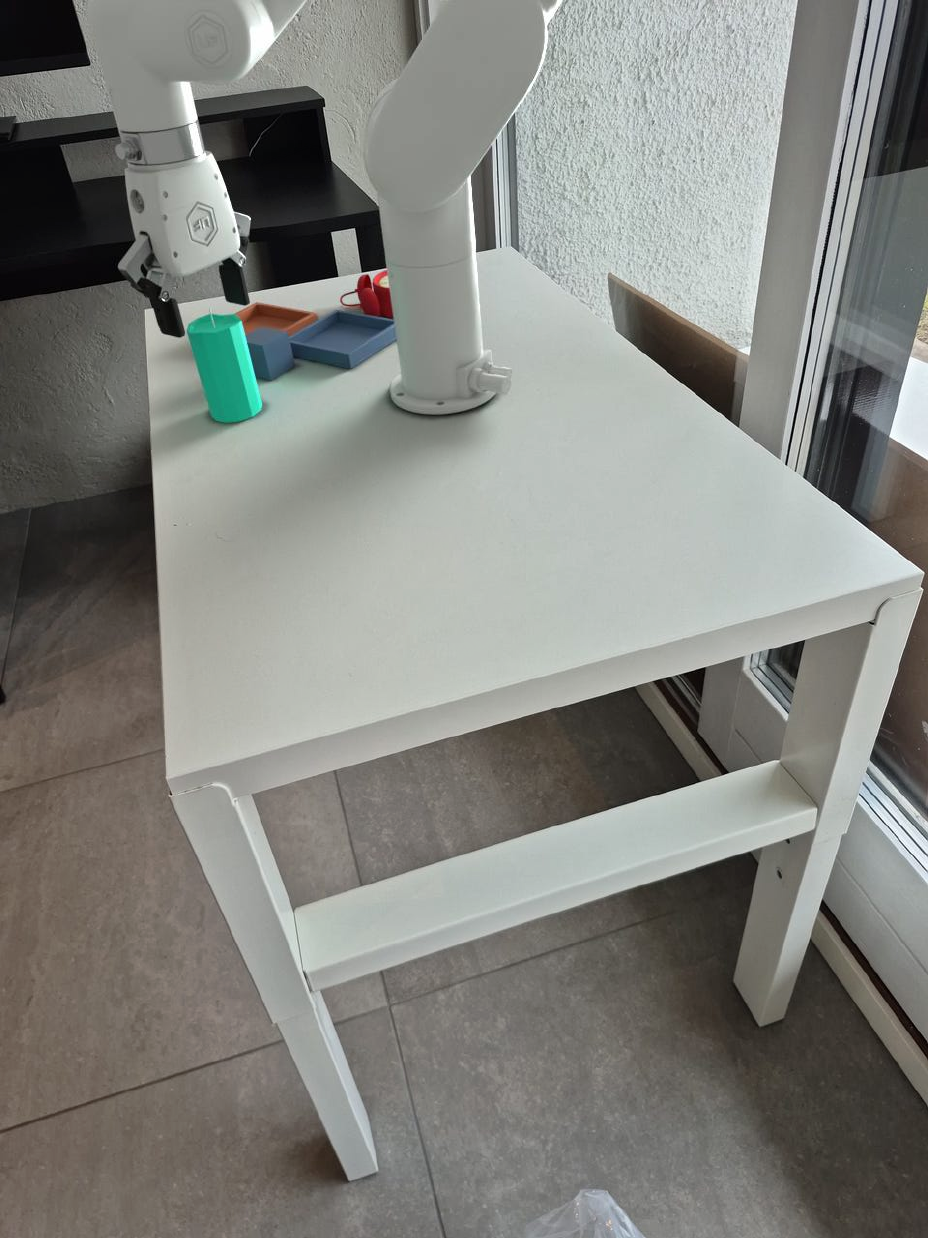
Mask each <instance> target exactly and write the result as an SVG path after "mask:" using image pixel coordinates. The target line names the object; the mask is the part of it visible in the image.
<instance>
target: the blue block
mask: <svg viewBox="0 0 928 1238" xmlns="http://www.w3.org/2000/svg"><path fill="white" fill-rule="evenodd" d="M245 337H246V341H247V345H248V349H249V353H250V357H251V362H252V366H253V370H254V374H255V378H256V379H257V378H258V379H261V380H266V381H270V382H271V381H273V380H274V379H276V378H278V377H279V376H281V375H283V374H285V373H286V372H288V371H289V370H291V369H293V368H295V366H296V364H295V360H294V357H293V355H292V350H291V346H290V341H289V337H288V332H286V331H281V330H275V329H270V328H265V327H259V328H258V329H256V330H254V331H252V332H250V333H248V334H247V335H245Z"/></svg>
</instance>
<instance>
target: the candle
mask: <svg viewBox="0 0 928 1238" xmlns="http://www.w3.org/2000/svg"><path fill="white" fill-rule="evenodd" d="M208 311H209V313H208V314H206V315H203V316H199V317H197V318H196V319H194V320H192V321H191V322H190V323H188V325H187V328H186V334H187V338H188V341H189V345H190V348H191V352H192V355H193V359H194V363H195V365H196V369H197V372H198V376H199V379H200V382H201V386H202V389H203V392H204V396H205V399H206V403H207V406H208V407H207V408H208V411H209V414H210V417H211V418H212V419H214V421H216V422H220V423H224V424H225V423H226V424H227V423H238V422H243V421H245V420H249V419H251V418H253V417H255V416H256V415H257V414H259V413H260V412H261V411H262V407H263V403H262V399H261V394H260V390H259V387H258V382H257V377H255V374H254V370H253V366H252V362H251V357H250V353H249V349H248V345H247V341H246V337H245V333H244V329H243V325H242V321H241V320H240V319H239V318H238V316H237V315H236V314H235V313H232V314H231V313H230V314H216V313H212V311H211V308H209V309H208Z"/></svg>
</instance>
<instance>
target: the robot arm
mask: <svg viewBox="0 0 928 1238" xmlns="http://www.w3.org/2000/svg"><path fill="white" fill-rule="evenodd" d="M307 1H308V0H89V1H88V2H87V6H86V17H87V21H88V25H89V29H90V32H91V37H92V40H93V44H94V48H95V51H96V54H97V58H98V62H99V66H100V70H101V73H102V76H103V80H104V83H105V87H106V92H107V94H108V97H109V101H110V105H111V108H112V112H113V115H114V119H115V123H116V126H117V131H118V135H119V139H120V143H118V144H116V145H115V147H114V152H115V154H116V156H117V157H118V159H119V160H121V161H125V160H126V164H127V167H126V168H124V176H125V177H124V179H125V180H124V181H125V188H126V190H125V191H126V197H127V198H126V199H127V203H128V210H129V216H130V220H131V225H132V230H133V235H134V238H135V241H134V242H133V243H132V245H131V246H130V247H129V249H128V250H127V252H126V253H125V255H124V256H123V257H122V258H121V260H120V261H119V262H118V264H117V268H118V271H119V272H120V273H121V275H122V276H123V277H124V279H126V280H127V282H129V283H130V286H131V288H132V289H134V290H136V291H137V292H138V293H140V294H141V295H143V296H144V298H146V299H150V302H151V306H152V310H153V312H154V317H155V320H156V324H157V326H158V328H159V330H160V333H162V334H163V335H166V336H170V337H174V338H178V339H181V338H182V337H185V336H186V330H185V327H184V323H183V319H182V315H181V312H180V308H179V303H178V301H177V299H176V298H173V297H171V296H172V291H173V289H174V285H175V282H176V278H185V277H189V276H191V275H194V274H195V273H197V272H200V271H203V270H206V269H207V268H210V267H211V266H214V265H216V264H218V263H222V264H220V265H218V273H219V278H220V282H221V286H222V289H223V295H224V299H225V301H226V302H227V303H230V304H234V305H239V306H244V307H245V306H246V307H247V306H248V305H249V304H250V303H251V301H250V296H249V292H248V287H247V281H246V278H245V277H246V276H245V273H244V269H243V268H244V267H245V266H246V265H247V258H246V254H247V251H248V248H249V245H250V239H249V236H250V228H251V217H250V216H249V215H246V214H244V213H240V212H238V211H234V209H233V207H232V202H231V200H230V196H229V192H228V191H227V186H226V184H225V181H224V178H223V176H222V173H221V171H220V168H219V165H218V164H217V163H218V162H217V161H216V159H215V156H214V155H213V153H212V151H208V150H206V149H205V145H204V139H203V136H202V131H201V126H200V122H199V119H198V113H197V109H196V104H195V99H194V95H193V91H192V86H191V84H201V85H210V86H211V85H212V86H213V85H214V86H220V85H228V84H233V83H235V82H237V81H239V80H241V79H242V78H244V77H245V76H246V75H247V74H248V73H250V71H251V70H252V69H253V68H254V66H255V65H256V64H257V63H258V62H259V61H260V60H261V59H262V58H263V56H264V55H265V54H266V53H267V52H268V50H269V49H270V47H272V45H273V44H274V42H275V41H276V40H277V39H278V37H280V35H281V34H282V32H283V31H284V30H285V29H286V27H287V26H288V25H289V23H291V22H292V20H293V19H294V17H295V16H296V15H297V14H298V12H299V11H300V10H301V9H302V8H303V6H304V5H305V3H306V2H307ZM562 2H563V0H439V2H438V5H437V8H436V12H435V16H434V18H433V20H432V22H431V23H430V25H429V27H428V28H427V30H426V32H425V34H423V36H422V38H421V40H420V41H419V43H418V45H417V46H416V48H415V50H414V51H413V53H412V54H411V57H410V58H409V60H407V61H408V62H407V63H406V65H405V67H404V68H403V69H402V71H401V73H400V74H399V77H397V78H395V79H393V80H391V81H390V82H389V83H388V84H387V85H385V86H384V87H383V89H381V91H380V92H379V94H378V95H377V96H376V98H375V99H374V101H373V103H372V106H371V108H370V111H369V115H368V119H367V123H366V126H365V128H366V129H365V134H364V140H363V161H364V167H365V170H366V174H367V176H368V178H369V181H370V183H371V185H372V187H373V188H374V189H375V191H376V193H377V194H376V195H377V203H378V212H379V219H380V220H379V221H380V228H381V235H382V242H383V243H382V244H383V250H384V256H385V257H384V259H385V266H386V270H387V275H388V282H389V289H390V296H391V303H392V311H393V318H392V319H394V325H395V332H396V339H397V340H396V346H397V354H398V360H399V368H400V372H399V373H398V374H397V375H396V376H395V377H393V379H392V380H391V382H390V384H389V393H390V398H391V401H392V402H393V403H394V404H395V405H396V406H398V407H399V408H401V409H403V410H405V411H408V412H411V413H415V414H421V415H430V416H431V415H432V416H433V415H434V416H435V415H437V416H438V415H449V414H450V415H451V414H456V413H462V412H466V411H469V410H472V409H474V408H477V407H480V406H481V405H483V404H485V403H487V402H488V401H490V400H491V399H492V398H493V397H494V396H496V394H500V395H504V396H506V395H508V393H509V392H510V390H511V385H512V380H511V379H512V375H513V371H512V368H510V367H505V366H496V365H495V364H494V363H493V355H492V350H491V349H486V348H484V346H483V345H484V341H483V329H482V318H481V305H480V303H481V302H480V291H479V280H478V279H479V278H478V266H477V265H478V264H477V251H476V249H477V247H476V234H475V222H474V221H475V220H474V208H473V196H472V183H471V176H472V174H473V173H474V171H475V170H476V169H477V167H478V166H479V164H480V163H481V162H482V160H483V159H484V157H485V156H486V154H487V153H488V152H489V150H490V148H491V147H492V145H493V144H494V143H495V141H496V140H497V139H498V137H499V135H500V134H501V133H502V131H503V130H504V128H505V127H506V126H507V124H508V123H509V121H510V120H511V119H512V117H513V115H514V114H515V113H516V111H517V110H518V108H519V107H520V105H521V104H522V103H523V101H524V99H525V98H526V96H527V95H528V94H529V91H530V90H531V88H532V87H533V85H534V83H535V81H536V79H537V77H538V74H539V72H540V70H541V67H542V65H543V63H544V60H545V56H546V52H547V51H546V50H547V44H548V24H549V22H550V20H551V19H552V18H553V16H554V15H555V12H556V11H557V9H558V8H559V7H560V5H561V3H562ZM142 265H143V266H144V268H145V270H146V271H147V274H146V277H145V276H144V273H143V272H142V268H141V267H142Z"/></svg>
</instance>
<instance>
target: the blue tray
mask: <svg viewBox="0 0 928 1238" xmlns="http://www.w3.org/2000/svg"><path fill="white" fill-rule="evenodd" d="M289 341H290V346H291V350H292V355H293V358H296V359H297V358H298V359H302V360H307V361H312V362H317V363H321V364H326V365H331V366H336V367H340V368H344V369H350V370H351V369H353V368H356V367H357V366H359V364H361V363H363V362H365V361H366V360H367V359H369V358H370V357H372V356H374V355H376V353H378V352H379V351H382V350H383V349H384V348H386V347H388V346H389V345H391V344H393V343H394V342H396V341H397V339H396V332H395V325H394V318H389V317H383V316H380V317H377V316H371V315H365V314H364V313H359V312H352V311H348V310H343V309H342V310H341V309H335V310H333V311H331V312H328V313H327V314H326V315H324V316H322V317H320V318H319V319H318V320H317V321H315V322H313V323H312V324H310V325H308V326H306V327H305V328H303V329H301V330H299V331H298V332H296V333H294V334H292V335H290V336H289Z"/></svg>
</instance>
